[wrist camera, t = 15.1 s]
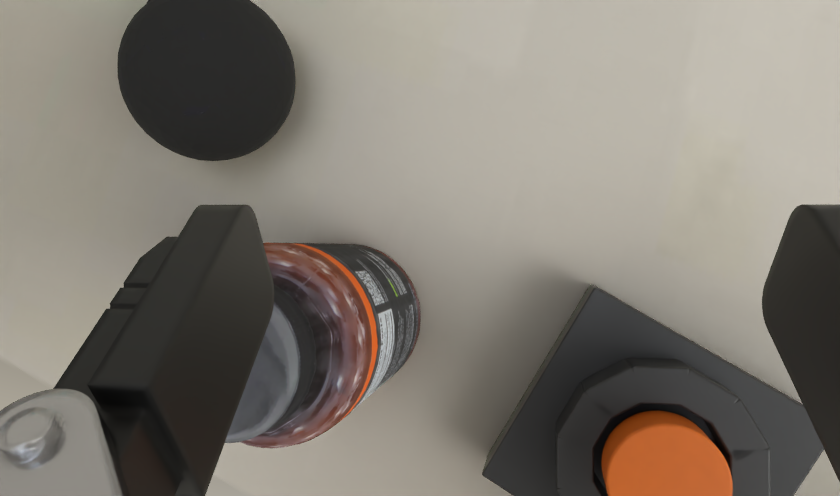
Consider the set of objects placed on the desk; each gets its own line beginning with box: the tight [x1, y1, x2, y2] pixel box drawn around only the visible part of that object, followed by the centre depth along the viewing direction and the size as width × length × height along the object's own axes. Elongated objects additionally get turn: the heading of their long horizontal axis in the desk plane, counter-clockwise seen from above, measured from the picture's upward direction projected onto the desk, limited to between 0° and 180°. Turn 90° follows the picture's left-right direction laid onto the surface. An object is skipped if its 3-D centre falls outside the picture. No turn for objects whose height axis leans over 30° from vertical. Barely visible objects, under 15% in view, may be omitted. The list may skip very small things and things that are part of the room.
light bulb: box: [118, 0, 295, 161], centre depth 25 cm, size 6×6×10 cm
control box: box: [482, 284, 824, 496], centre depth 22 cm, size 9×8×4 cm
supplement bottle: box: [225, 243, 420, 448], centre depth 21 cm, size 6×6×11 cm
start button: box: [601, 410, 733, 496], centre depth 20 cm, size 4×4×2 cm
